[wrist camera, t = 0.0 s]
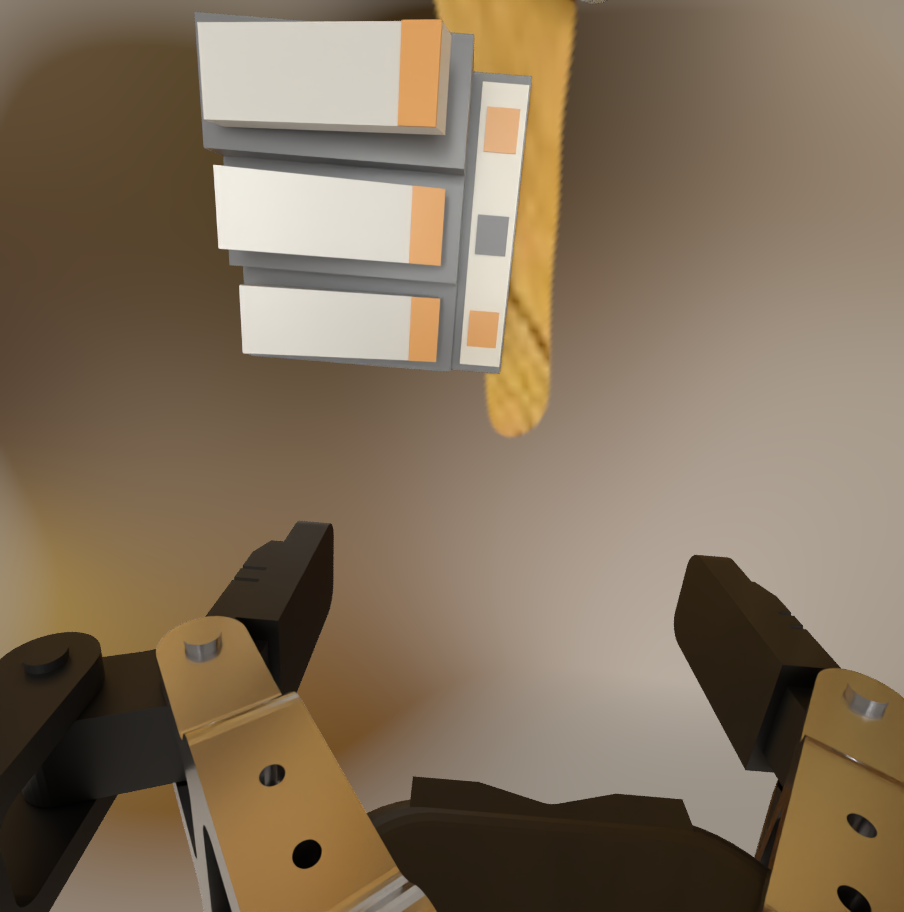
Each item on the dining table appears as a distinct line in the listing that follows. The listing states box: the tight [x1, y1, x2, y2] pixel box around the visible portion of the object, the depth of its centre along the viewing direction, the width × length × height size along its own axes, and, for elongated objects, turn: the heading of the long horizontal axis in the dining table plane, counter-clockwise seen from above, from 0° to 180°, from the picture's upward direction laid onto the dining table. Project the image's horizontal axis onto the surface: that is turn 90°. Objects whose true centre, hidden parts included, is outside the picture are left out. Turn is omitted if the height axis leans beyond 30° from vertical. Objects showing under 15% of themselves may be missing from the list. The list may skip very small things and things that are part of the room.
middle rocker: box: [213, 165, 446, 266], centre depth 31 cm, size 4×12×2 cm, turn 86°
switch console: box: [195, 12, 532, 374], centre depth 33 cm, size 18×18×8 cm
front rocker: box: [197, 20, 452, 135], centre depth 26 cm, size 4×12×2 cm, turn 86°
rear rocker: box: [239, 284, 440, 362], centre depth 35 cm, size 4×12×2 cm, turn 86°
